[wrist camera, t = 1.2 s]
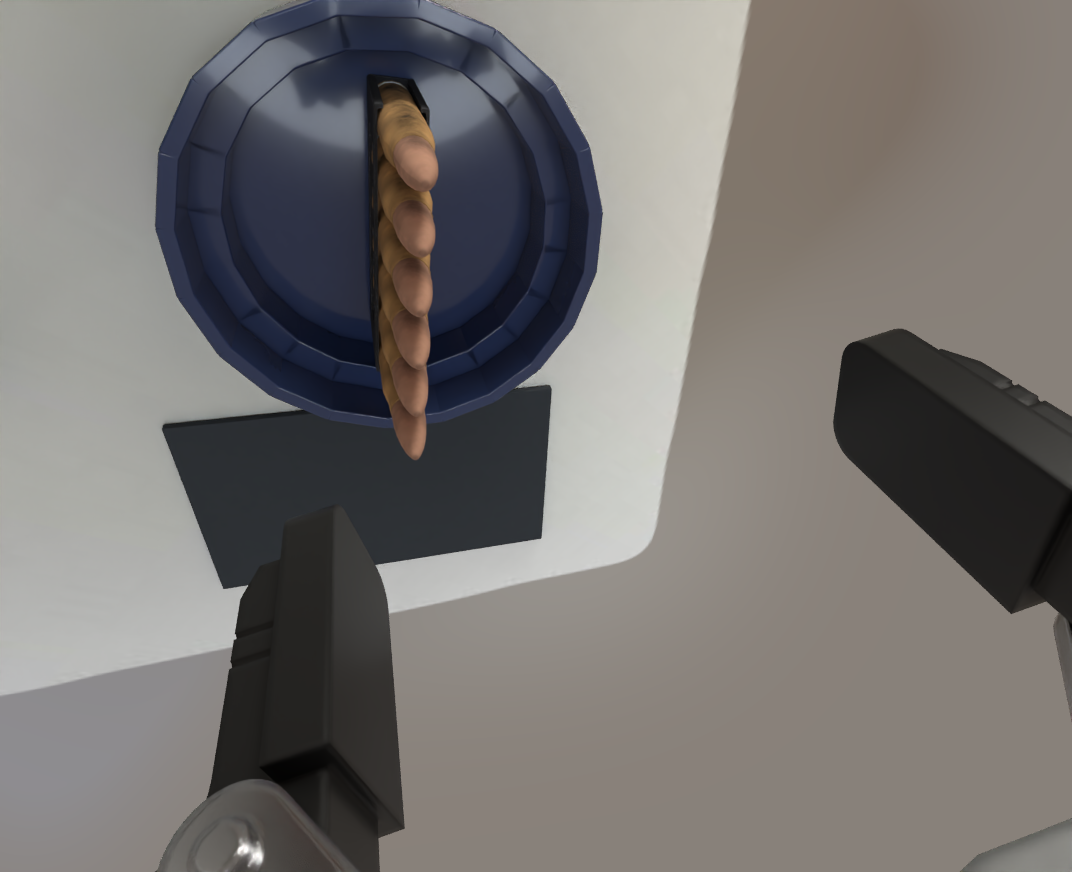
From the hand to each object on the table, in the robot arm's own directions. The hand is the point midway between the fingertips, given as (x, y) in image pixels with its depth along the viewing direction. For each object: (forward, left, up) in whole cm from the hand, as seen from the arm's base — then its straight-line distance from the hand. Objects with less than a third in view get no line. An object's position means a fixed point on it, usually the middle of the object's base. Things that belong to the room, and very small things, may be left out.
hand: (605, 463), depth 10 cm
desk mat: (-4, -19, -22) cm, 29 cm away
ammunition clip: (-2, -3, -22) cm, 22 cm away
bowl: (-2, -3, -22) cm, 22 cm away
